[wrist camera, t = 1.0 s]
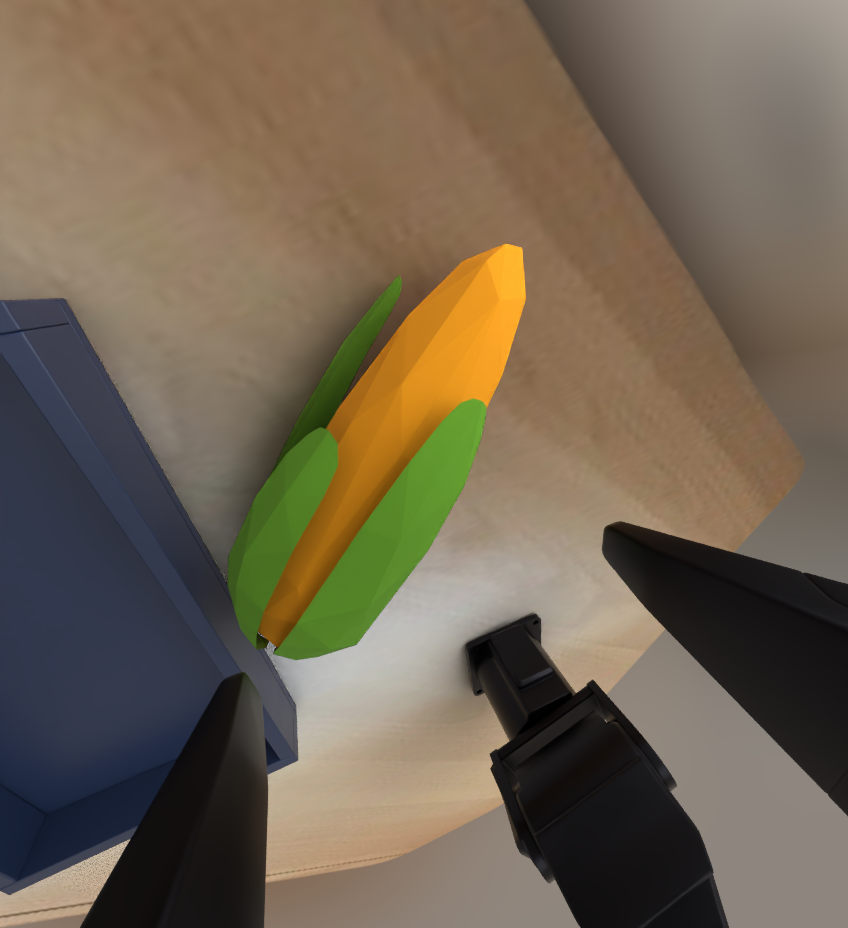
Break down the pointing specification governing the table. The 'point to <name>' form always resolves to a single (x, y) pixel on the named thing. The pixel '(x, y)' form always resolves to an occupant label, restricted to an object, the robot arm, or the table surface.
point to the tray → (97, 609)
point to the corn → (375, 463)
